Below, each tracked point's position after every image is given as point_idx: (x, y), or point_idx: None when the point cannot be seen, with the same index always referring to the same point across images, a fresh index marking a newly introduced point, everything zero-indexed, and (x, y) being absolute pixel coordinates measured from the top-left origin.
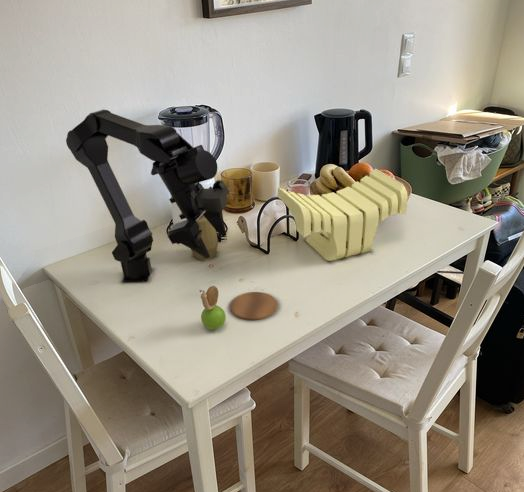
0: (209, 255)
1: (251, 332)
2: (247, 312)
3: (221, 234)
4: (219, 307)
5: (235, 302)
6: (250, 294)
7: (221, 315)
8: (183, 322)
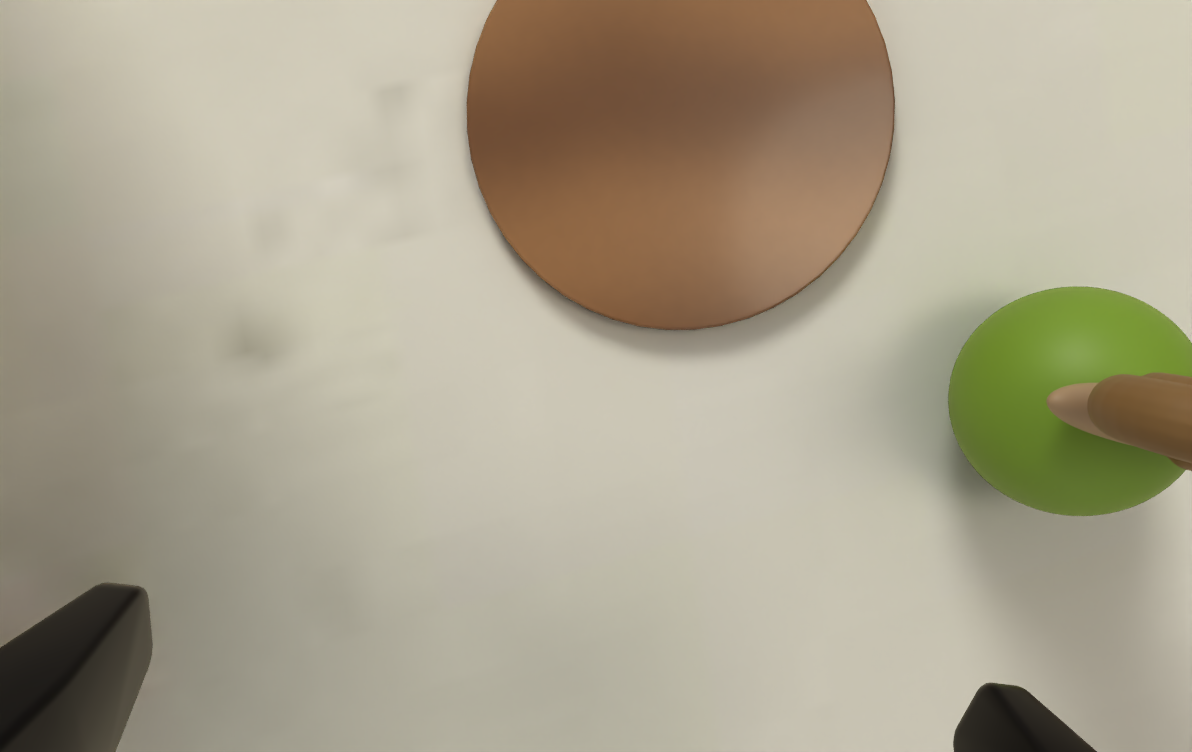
0: (1018, 699)
1: (1053, 58)
2: (810, 146)
3: (127, 697)
4: (1089, 349)
5: (669, 293)
6: (519, 184)
7: (1148, 308)
8: (979, 659)
